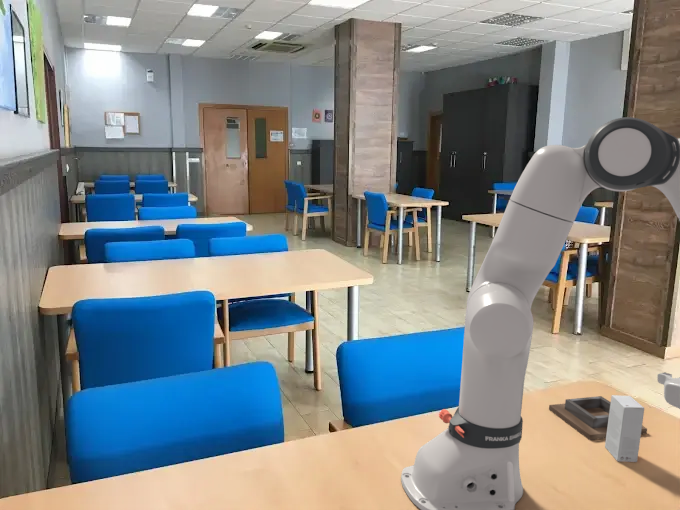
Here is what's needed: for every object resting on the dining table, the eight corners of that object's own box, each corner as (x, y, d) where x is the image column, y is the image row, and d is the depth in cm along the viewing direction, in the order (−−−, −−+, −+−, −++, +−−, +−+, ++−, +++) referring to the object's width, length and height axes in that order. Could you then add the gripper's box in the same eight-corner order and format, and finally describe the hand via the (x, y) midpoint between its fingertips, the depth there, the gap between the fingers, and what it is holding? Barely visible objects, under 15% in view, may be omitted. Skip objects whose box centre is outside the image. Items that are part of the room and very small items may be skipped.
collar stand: (589, 440, 125) (591, 424, 124) (548, 409, 139) (550, 395, 138) (646, 433, 128) (648, 418, 128) (601, 404, 143) (602, 391, 142)
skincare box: (637, 462, 116) (645, 408, 114) (617, 462, 116) (624, 407, 114) (623, 447, 122) (630, 395, 120) (603, 446, 122) (610, 394, 120)
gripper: (800, 366, 95) (719, 345, 108) (712, 390, 88) (637, 365, 101) (798, 402, 96) (719, 377, 108) (712, 429, 89) (638, 399, 102)
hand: (679, 372), depth 105 cm, fingers open, 8 cm apart
